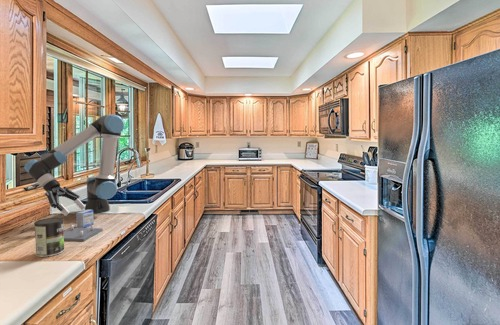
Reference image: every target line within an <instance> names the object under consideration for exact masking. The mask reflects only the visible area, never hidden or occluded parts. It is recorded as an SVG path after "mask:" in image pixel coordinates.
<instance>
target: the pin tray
mask: <svg viewBox="0 0 500 325" xmlns="http://www.w3.org/2000/svg"><path fill="white" fill-rule="evenodd" d="M63 231H64V242H66V241H67V242H86V241H87V240H89V239H91V238H92V237H93V238H94V237H95V236H96V235H98V234H100V233H101V232H103V231H104V229H103V228H98V227H97V228H95V227H94V224H93V225H91V226H90V227H86V228H77V227H74V224H70V227H68V228H66V229H65V230H64V229H63Z"/></svg>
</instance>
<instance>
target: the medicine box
mask: <svg viewBox="0 0 500 325" xmlns="http://www.w3.org/2000/svg"><path fill="white" fill-rule="evenodd" d="M75 216H76V217H75V218H76V220H75V221H76V228H89V227H91V226H92V225H94V213H93V210H85V209H83V210H81V211H78V212H75Z"/></svg>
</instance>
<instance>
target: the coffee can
mask: <svg viewBox="0 0 500 325" xmlns="http://www.w3.org/2000/svg"><path fill="white" fill-rule="evenodd" d="M33 223H34V224H33V225H34V236H35V237H34V238H35V239H34V240H35V255H36V257H39V258H49V257H54V256H58V255H60V254H62V253H64V252H63V251H65V241H64V218H63V217H48V218H41V219H38V220H35V221H34V222H33ZM57 254H58V255H57ZM53 255H54V256H53ZM48 256H49V257H48Z"/></svg>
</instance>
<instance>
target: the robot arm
mask: <svg viewBox="0 0 500 325" xmlns="http://www.w3.org/2000/svg"><path fill="white" fill-rule="evenodd" d="M124 129H125V122H124V120H123V118H122V117H121V116H120V115H118V114H106V115H102V116H100V117H99V118H97V119H96V120H94V121H93V122H92V123H90V124H88V127H86V128H85V129H84V130H82V131H80V132H78V133H77V134H75V135H73V136H71V137H70V138H69V139H67V140H65V141H64V142H62V143H60V144H59V145H57V146H56V147H54V148H52V149H51V150H49V151H48V152H44V153H43V154H41V155H40V159H39V160H37V159H31V160H29V161H28V162H26V163H25V164H24V165H23V167H24V168H23V169H24V170H25V171H26V172H27V173H28V175H29V176H30V177H31V178H32V179H34V180H35V182H37V184H38V185H39V186H40V187H41V188H42V189H43V190H44V191H45V193H44V195H45V196H46V197H47V199H48V202H49V205H50V207H51V208H53V209H57V210H58V211H59V212H61V214H63V216H65V217H67V216H68V215H69V214H70V211H69V210H68V209H67V208H66V207H65V206H64V205H63V203H60V197H63V198H67V199H69V200H72V201H74V202H73V203H75V205H76V206H77V207H78V208H79V209H80V210H81V211H84V210H93V214H98V213H105V212H108V211H110V210H111V207H110V204H109V201H108V200H109V199H112V198H113V197H114V196H116V194H117V192H118V187H117V185H116V177H115V176H114V172H115V164H116V163H115V162H116V154H117V147H118V139H120V138H121V137H122V136H121V135H122V131H123V130H124ZM97 137H98V138H99V137H102V141H101V150H100V158H99V160H100V161H99V166H98V174H97V175H96V176H93V177H87V179H86V198H87V200H86V203H85V204H84V203H83V202H82V201H81V200H80V199H79V198H80V195H78V194H77V193H75V192H74V191H72V190H71V189H69V188H68V187H67V186H63V187H61V183H60V182H59V181H58V180H57V179H56V178H55V177H54V175H52V173H51V171H52V170H54V169H56V168H58V167H60V166H61V165H64V164H65V163H66V162H67V161H68V157H67V156H69V155H70V154H73V152H75V151H77V150H78V149H80V148H81V147H83V146H84V145H86V144H87V143H89V142H90V141H92V140H93V139H95V138H97Z"/></svg>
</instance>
